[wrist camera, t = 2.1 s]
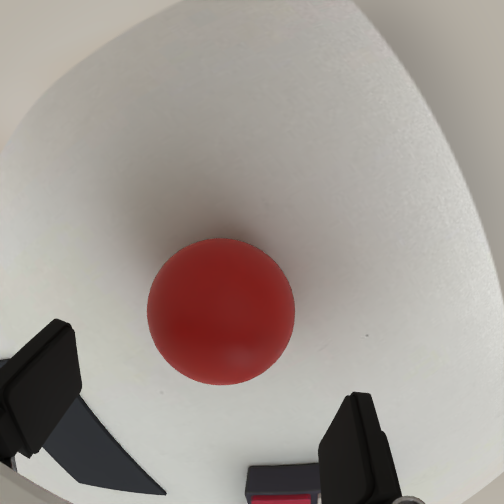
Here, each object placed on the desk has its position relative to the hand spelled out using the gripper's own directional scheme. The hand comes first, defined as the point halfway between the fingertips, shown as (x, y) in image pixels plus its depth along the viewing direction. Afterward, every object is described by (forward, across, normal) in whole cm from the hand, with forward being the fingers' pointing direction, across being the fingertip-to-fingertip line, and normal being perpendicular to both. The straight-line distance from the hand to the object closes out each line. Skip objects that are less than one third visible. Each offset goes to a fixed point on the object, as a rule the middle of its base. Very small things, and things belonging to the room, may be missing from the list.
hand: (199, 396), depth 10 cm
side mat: (+8, +14, +21) cm, 27 cm away
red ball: (+5, 0, -1) cm, 5 cm away
